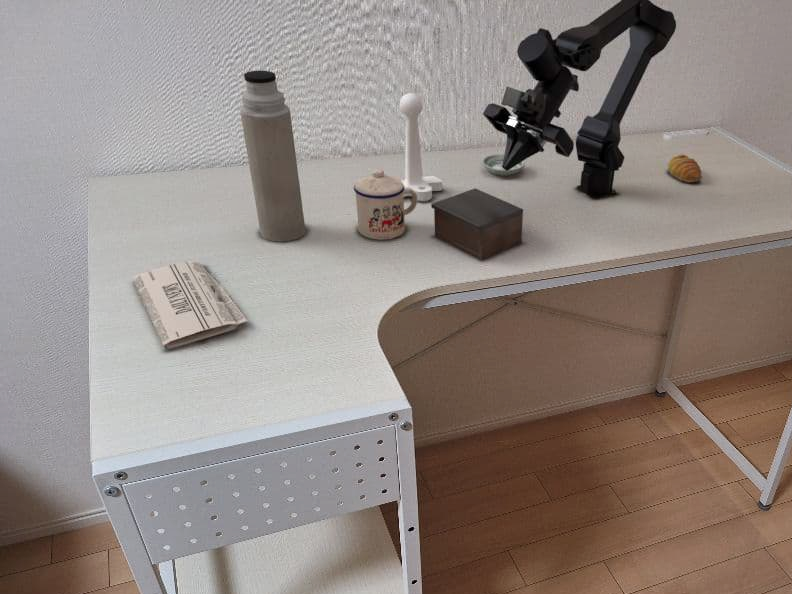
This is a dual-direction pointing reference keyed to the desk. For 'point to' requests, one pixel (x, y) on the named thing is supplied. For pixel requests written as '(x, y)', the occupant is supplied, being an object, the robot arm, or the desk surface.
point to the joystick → (415, 152)
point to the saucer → (499, 165)
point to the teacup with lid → (381, 205)
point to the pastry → (684, 168)
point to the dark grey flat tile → (477, 209)
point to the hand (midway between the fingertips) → (504, 169)
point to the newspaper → (186, 303)
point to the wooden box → (479, 235)
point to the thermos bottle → (272, 158)
